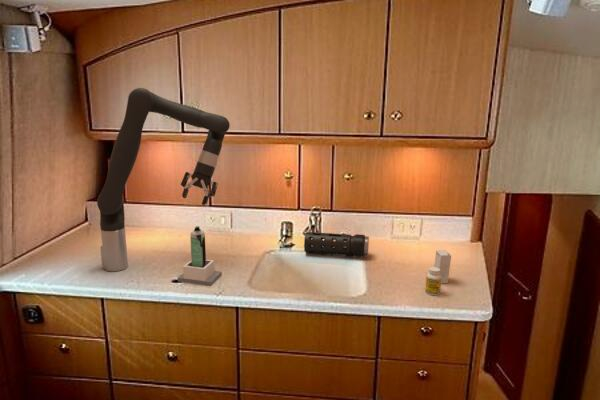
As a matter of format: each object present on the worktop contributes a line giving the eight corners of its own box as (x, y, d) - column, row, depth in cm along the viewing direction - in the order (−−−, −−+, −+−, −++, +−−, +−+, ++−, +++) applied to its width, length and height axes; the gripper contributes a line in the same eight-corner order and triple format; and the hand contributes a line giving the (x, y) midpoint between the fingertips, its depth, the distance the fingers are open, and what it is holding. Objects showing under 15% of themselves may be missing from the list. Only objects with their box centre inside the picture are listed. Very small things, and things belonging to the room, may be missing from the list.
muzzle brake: (306, 249, 227) (307, 228, 224) (368, 253, 223) (369, 232, 220) (303, 257, 218) (304, 235, 215) (367, 261, 214) (368, 239, 211)
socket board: (177, 281, 192) (176, 265, 190) (190, 271, 202) (189, 256, 200) (210, 285, 188) (210, 270, 187) (221, 275, 198) (221, 260, 196)
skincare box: (432, 277, 198) (434, 249, 195) (443, 277, 198) (446, 249, 195) (437, 284, 192) (440, 255, 189) (448, 283, 193) (451, 254, 189)
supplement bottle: (439, 290, 187) (441, 266, 184) (440, 296, 182) (443, 272, 179) (424, 289, 188) (426, 265, 185) (425, 295, 183) (427, 271, 180)
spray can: (209, 274, 194) (207, 226, 189) (198, 279, 191) (195, 230, 185) (200, 271, 198) (198, 223, 193) (189, 275, 194) (187, 226, 189)
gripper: (187, 156, 197) (174, 195, 197) (219, 168, 195) (206, 206, 194) (194, 159, 204) (181, 196, 204) (225, 170, 202) (212, 207, 202)
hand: (193, 201), depth 199 cm, fingers open, 8 cm apart
